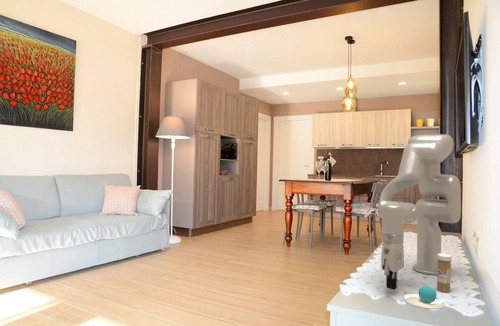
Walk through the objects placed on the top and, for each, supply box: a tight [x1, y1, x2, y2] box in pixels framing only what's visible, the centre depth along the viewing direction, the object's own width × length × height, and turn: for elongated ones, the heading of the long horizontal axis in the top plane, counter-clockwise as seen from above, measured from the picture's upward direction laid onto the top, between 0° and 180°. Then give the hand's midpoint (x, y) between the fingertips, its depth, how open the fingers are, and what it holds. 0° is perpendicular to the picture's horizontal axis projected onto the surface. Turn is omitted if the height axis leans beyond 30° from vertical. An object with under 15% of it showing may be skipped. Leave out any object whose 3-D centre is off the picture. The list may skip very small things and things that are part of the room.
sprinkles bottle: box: [436, 252, 452, 293], centre depth 131 cm, size 5×5×13 cm
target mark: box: [403, 297, 446, 310], centre depth 121 cm, size 13×13×1 cm
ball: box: [417, 285, 438, 303], centre depth 120 cm, size 6×6×6 cm
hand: (391, 288), depth 128 cm, fingers closed
